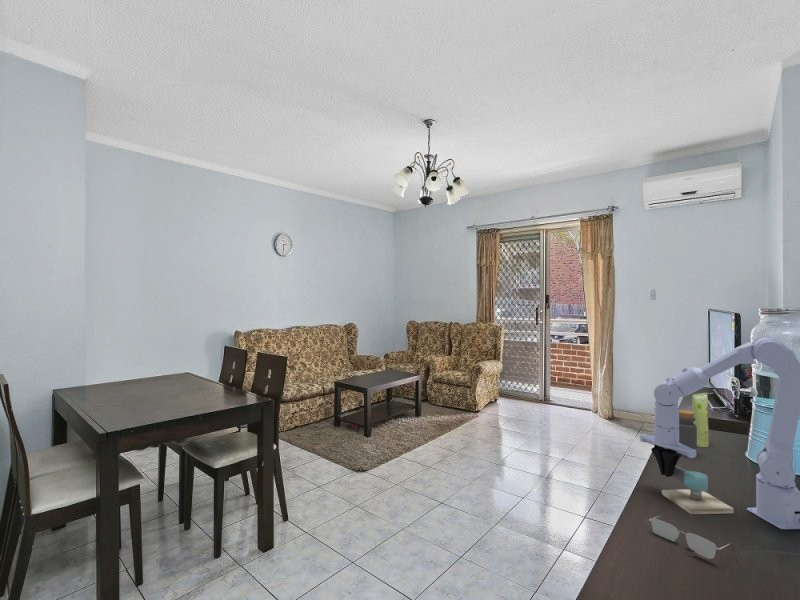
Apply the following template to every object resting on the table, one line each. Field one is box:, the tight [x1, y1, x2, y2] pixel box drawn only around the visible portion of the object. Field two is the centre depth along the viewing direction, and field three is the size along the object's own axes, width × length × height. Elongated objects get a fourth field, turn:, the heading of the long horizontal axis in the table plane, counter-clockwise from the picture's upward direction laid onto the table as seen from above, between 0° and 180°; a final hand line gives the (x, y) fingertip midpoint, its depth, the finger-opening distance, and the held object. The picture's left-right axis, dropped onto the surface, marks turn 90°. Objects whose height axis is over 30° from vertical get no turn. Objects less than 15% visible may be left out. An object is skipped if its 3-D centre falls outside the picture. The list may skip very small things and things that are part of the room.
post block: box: [661, 488, 735, 515], centre depth 110 cm, size 11×11×4 cm
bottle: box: [678, 409, 698, 458], centre depth 145 cm, size 6×6×15 cm
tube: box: [691, 392, 710, 448], centre depth 153 cm, size 6×5×20 cm
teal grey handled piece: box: [670, 465, 709, 492], centre depth 113 cm, size 12×5×3 cm, turn 15°
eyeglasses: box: [648, 514, 734, 560], centre depth 93 cm, size 14×8×4 cm, turn 33°
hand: (666, 475), depth 116 cm, fingers closed
